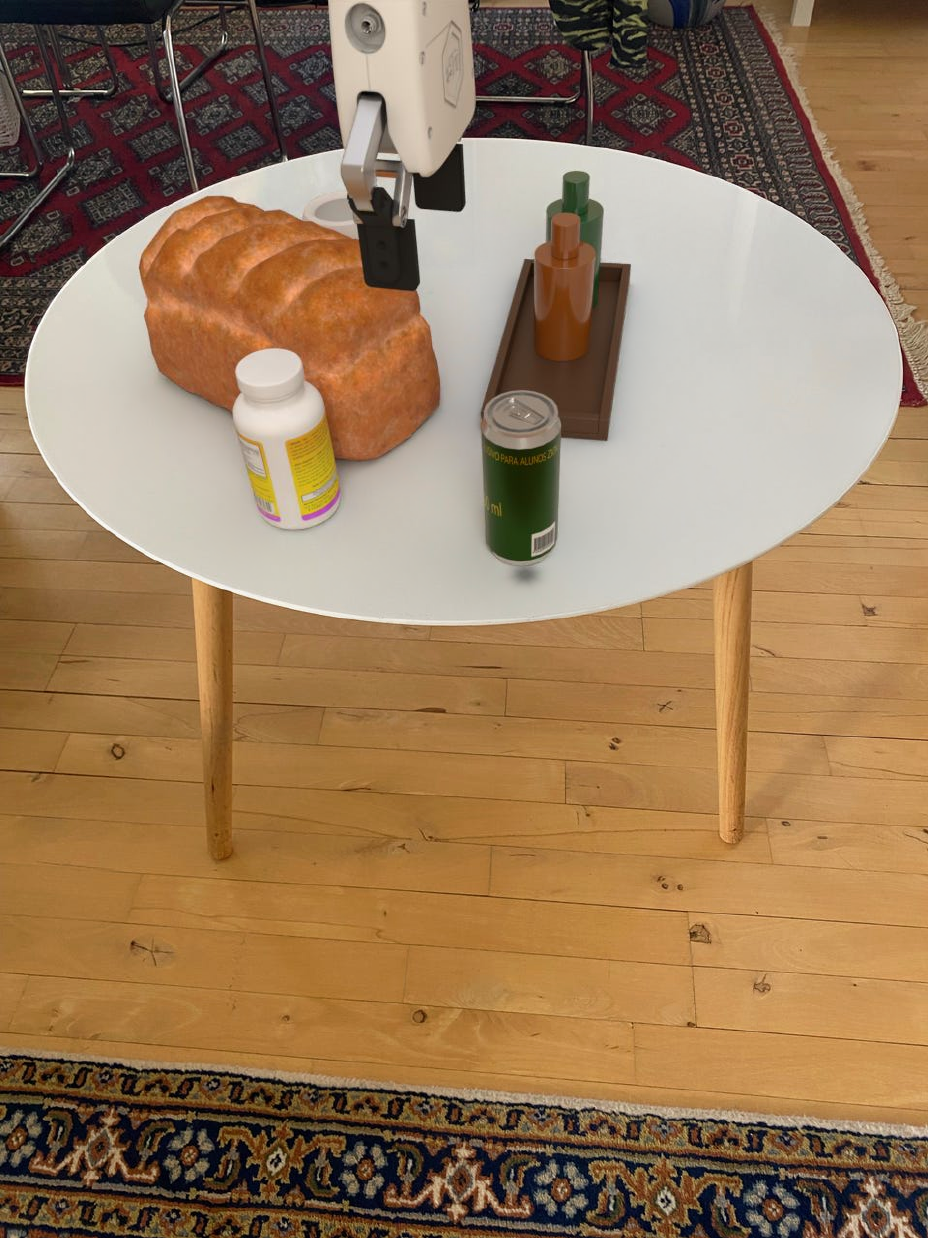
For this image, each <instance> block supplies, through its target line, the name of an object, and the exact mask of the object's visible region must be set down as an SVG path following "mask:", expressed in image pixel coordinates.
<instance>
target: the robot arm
mask: <svg viewBox="0 0 928 1238" xmlns="http://www.w3.org/2000/svg"><path fill="white" fill-rule="evenodd" d="M327 2H328V4H327V5H328V21H329V22H328V23H329V33H330V35H329V36H330V47H331V48H330V49H331V59H332V70H333V79H334V80H333V81H334V90H335V99H336V108H337V115H338V121H339V128H340V134H341V141H342V146H343V155H342V159H341V162H340V177H341V180H342V183H343V184H344V188H345V190H347V192H348V193H347V200H349V201H348V203H349V206H350V208H351V210H352V216H353V221H354V223H355V224H357V230H358V238H359V245H360V253H361V260H362V268H363V275H364V281H365V283H366V285H367V286H369V287H374V288H384V289H394V290H404V291H415V290H418V287H419V286H420V284H421V275H420V264H419V253H418V241H417V229H416V219H415V218H409V209H410V201H411V195H412V194H411V193H412V183H413V194H414V195H413V196H414V204H415V207H417V208H418V209H420V210H428V211H441V212H442V211H443V212H451V213H452V212H453V213H461V212H462V211H463V210H464V208H465V207H466V203H467V199H466V198H467V197H466V181H465V179H466V177H465V158H464V143H460V142H462V139H463V134H464V133H465V131H466V129H467V128H468V126H469V124H470V123H471V121H472V119H473V116H474V114H475V110H476V103H477V102H476V101H477V100H476V99H477V98H476V97H477V95H476V82H475V68H474V53H473V43H472V42H473V40H472V30H471V18H470V17H471V15H470V5H469V0H327ZM379 154H391V155H398V156H399V158H400V160H395V159H381V158H378V155H379ZM378 178H387V179H389V178H390V179H395V180H394V181H395V182H394V190H393V198H392V196H391V195H390V194H389V192H388V191H387V190H386V188H385V187H383V186H378V184H377V183H378Z"/></svg>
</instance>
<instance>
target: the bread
mask: <svg viewBox="0 0 928 1238" xmlns="http://www.w3.org/2000/svg"><path fill="white" fill-rule="evenodd" d="M138 271H139V276H140V280H141V284H142V289H143V291H144V294H145V297H146V300H147V301H146V307H145V310H144V314H143V318H144V322H145V326H146V329H147V335H148V340H149V346H150V352H151V355H152V357H153V360H154V362H155V364H156V367H157V370H158V372H159V373H161V374H162V375H164V376H165V377H167V378H168V379H170V380H171V381H172V382H173V383H174V384H176V385H177V386H178V387H180V388H182V389H183V390H185V391H187V392H189V393H192V394H197V395H199V396H201V397H202V398H203V399H204V400H205V401H206V400H207V402H208V403H210V404H213V405H216V406H219V407H222V408H225V409H226V410H228V411H229V412H230V413H232V414H233V406H234V403H235V401H236V399H237V397H238V396H239V394H240V393H241V391H240V390H239V388H238V383H237V378H236V373H235V371H236V366H237V365H238V363H239V362H240V361H241V360H242V359H243V358H244V357H246V356H247V355H249V354H251V353H254V352H256V351H260V350H264V349H272V348H278V349H285V350H289V351H292V352H294V353H295V354H297V355H298V356H299V358H300V359H301V362H302V365H303V370H304V375H305V376H304V380H305V381H307V382H309V383H310V384H312V385H313V386H314V387H315V388H316V389H317V390H318V391H319V393H320V394H321V396H322V399H323V402H324V407H325V412H326V417H327V422H328V427H329V433H330V438H331V443H332V448H333V453H334V458H337V459H342V460H347V461H354V462H364V461H367V460H369V461H370V460H374V459H378V458H380V457H382V456H383V455H384V454H386V453H388V452H389V451H391V450H392V449H395V448H396V447H397V446H398V445H401V444H402V443H403V442H405V441H406V440H408V439H409V438H410V437H411V436H412V435H413V434H414V433H415V432H416V430H417V429H418V428H419V427H420V426H421V425H422V424H423V423H424V422H425V421H427V419H428V418H429V417H430V416H431V415H432V414H433V413H434V411H436V409H437V408H438V407H439V406H440V400H441V378H440V372H439V366H438V359H437V357H436V354H435V350H434V347H433V337H432V331H431V325H430V324H429V323H428V321H427V320H426V319H425V317H424V316H423V315H422V314H421V302H420V301H421V300H420V296H419V293H418V291H417V290H418V289H416V290H415V291H404V290H394V289H384V288H374V287H369V286H367V285H366V283H365V281H364V275H363V268H362V260H361V253H360V245H359V240H358V239H352V238H350V237H348V236H346V235H344V234H341V233H339V232H337V231H335V230H332V229H328V228H325V227H322V226H320V225H318V224H316V223H314V222H313V221H302V219H300V218H299V217H296V216H294V215H293V214H291V213H289V212H287V211H285V210H284V209H283V210H282V209H272V210H269V209H268V210H264V209H263V208H261V207H259V206H257V205H255V204H251V203H247V202H243V201H242V202H241V201H237V199H235V198H234V197H233V196H227V195H207V196H204V197H202V198H200V199H198V200H196V201H194V202H192V203H189V204H188V205H187V204H186V205H185V206H184V207H181V208H179V209H177V210H175V211H174V212H173V213H172V214H171V215H170V216H169V217H168V218H167V219H166V220H165V221H164V223H162V225H161V226H160V228H159V229H158V230H157V231H156V233H155V234H154V236H153V237H152V238H151V240H150V241H149V242H148V244H147V245H146V247H145V249H144V250H143V251H142V253H141V256H140V258H139V264H138Z"/></svg>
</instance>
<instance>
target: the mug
mask: <svg viewBox="0 0 928 1238" xmlns="http://www.w3.org/2000/svg"><path fill="white" fill-rule="evenodd" d="M347 193H348V192H347V190H346V189H345V190H337V191H332V192H331V191H330V192H328V193H324V194H321V195H319V196H317V197H315V198H312V200H310V201H309V202H308V203H307V204H306V205H305V207H304V208H303V212H302V216H301V220H302V221H313V222H314V223H316V224H318V225H320V226H322V227H325V228H328V229H332V230H335V231H337V232H339V233H341V234H344V235H346V236H348V237H350V238H352V239H358V240H359V238H358V230H357V224H355V223H354V221H353V216H352V210H351V208H350V206H349V203H348V201H349V200H347Z"/></svg>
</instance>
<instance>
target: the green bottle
mask: <svg viewBox="0 0 928 1238" xmlns="http://www.w3.org/2000/svg"><path fill="white" fill-rule="evenodd" d="M561 183H562V185H561V186H562V187H561V198H559V199H557V200H554V201H552V202H551V203H549V204H548V205H547V207H546V210H545V242H548V241H551V220H552V217H553V216H554V215H556V214H559V213H573V214H576V215H578V216H579V217H580V241H583V242H586V243H588V244H589V245H591V246H592V247H593V248H594V250H595V271H594V289H593V306H592V309H593V308H594V307H595V306H596V305H597V303H598V298H599V282H600V265H601V262H602V250H603V249H602V247H603V231H604V216H605V209H604V207H603V205H602V203H600V202H599V201H598V200H595V199H592V198H590V186H591V185H590V183H591V176H590V174H589V173H588V172H586V171H582V170H572V171H568V172H566V173H564V174H563V176H562V181H561Z"/></svg>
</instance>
